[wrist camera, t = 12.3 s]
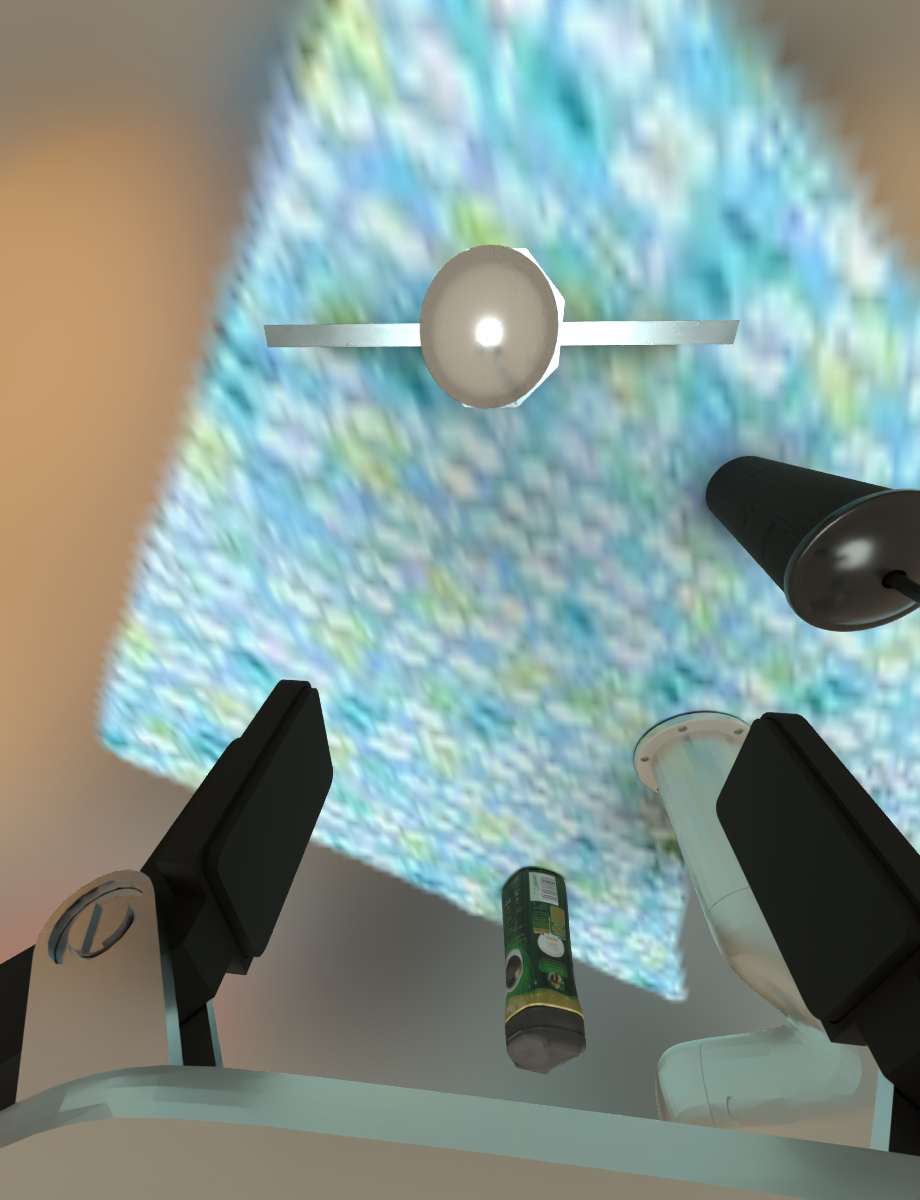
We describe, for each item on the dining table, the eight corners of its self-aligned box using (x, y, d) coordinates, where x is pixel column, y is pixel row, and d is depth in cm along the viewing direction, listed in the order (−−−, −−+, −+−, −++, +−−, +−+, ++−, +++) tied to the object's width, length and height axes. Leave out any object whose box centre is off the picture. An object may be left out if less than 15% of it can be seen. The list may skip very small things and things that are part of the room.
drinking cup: (783, 530, 34) (1070, 716, 17) (681, 540, 35) (857, 725, 18) (807, 428, 31) (1207, 537, 14) (693, 443, 32) (929, 561, 14)
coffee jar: (542, 906, 66) (558, 1085, 50) (494, 892, 65) (494, 1071, 49) (574, 875, 61) (602, 1063, 45) (522, 860, 60) (533, 1046, 44)
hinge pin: (532, 291, 28) (566, 243, 15) (527, 381, 30) (551, 408, 17) (451, 292, 28) (415, 246, 15) (452, 382, 31) (422, 408, 18)
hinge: (691, 269, 27) (760, 243, 20) (665, 393, 30) (716, 407, 23) (309, 275, 28) (249, 253, 21) (326, 393, 32) (279, 407, 25)
